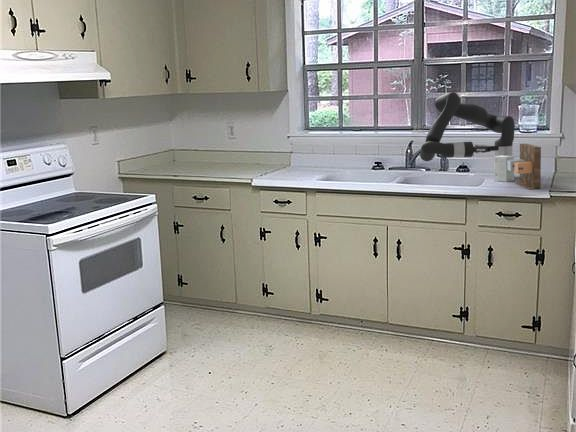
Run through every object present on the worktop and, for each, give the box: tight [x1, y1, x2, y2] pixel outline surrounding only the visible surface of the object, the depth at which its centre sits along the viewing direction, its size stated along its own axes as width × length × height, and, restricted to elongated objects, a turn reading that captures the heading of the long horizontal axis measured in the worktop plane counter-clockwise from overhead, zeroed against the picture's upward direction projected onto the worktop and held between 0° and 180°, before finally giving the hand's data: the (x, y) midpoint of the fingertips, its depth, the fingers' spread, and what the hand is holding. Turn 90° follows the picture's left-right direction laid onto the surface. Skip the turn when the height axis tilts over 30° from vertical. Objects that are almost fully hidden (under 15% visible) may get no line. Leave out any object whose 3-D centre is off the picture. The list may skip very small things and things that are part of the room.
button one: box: [507, 158, 525, 171], centre depth 329 cm, size 5×9×5 cm, turn 89°
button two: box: [514, 161, 533, 175], centre depth 319 cm, size 5×9×5 cm, turn 89°
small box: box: [493, 155, 515, 183], centre depth 346 cm, size 8×6×13 cm
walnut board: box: [514, 143, 542, 190], centre depth 324 cm, size 21×6×20 cm, turn 179°
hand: (498, 148), depth 317 cm, fingers closed
